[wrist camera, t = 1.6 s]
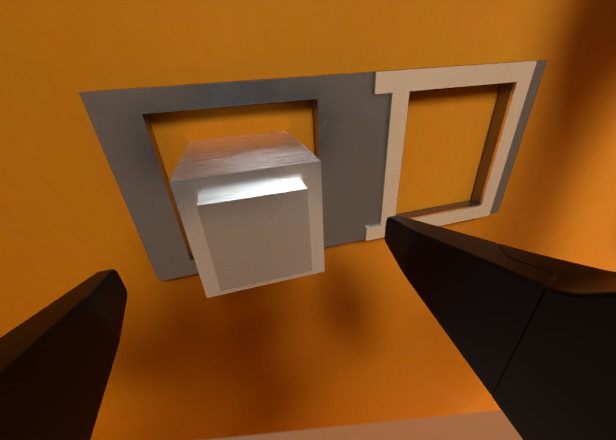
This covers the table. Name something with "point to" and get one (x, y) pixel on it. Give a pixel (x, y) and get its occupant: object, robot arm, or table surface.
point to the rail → (328, 146)
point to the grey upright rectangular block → (250, 210)
